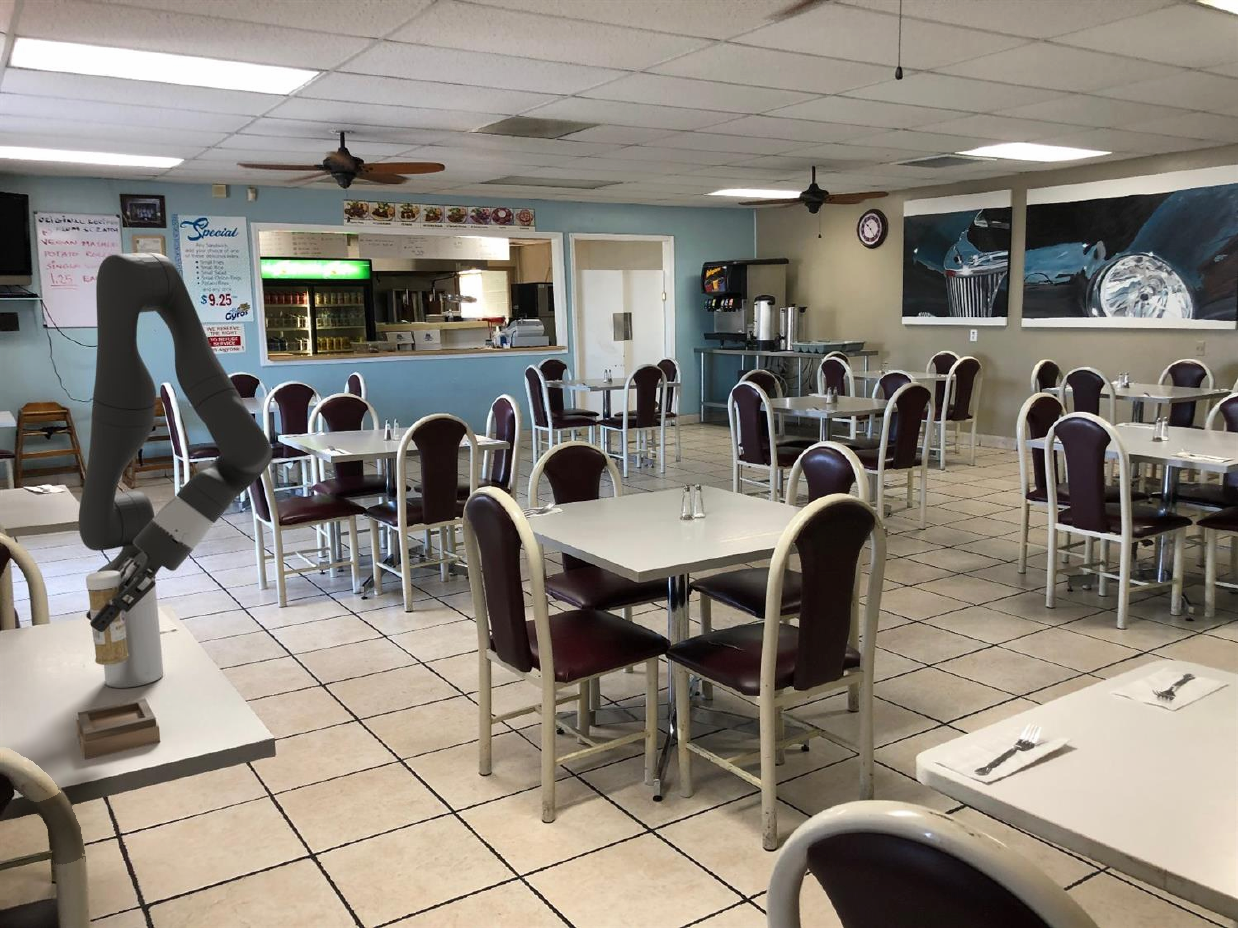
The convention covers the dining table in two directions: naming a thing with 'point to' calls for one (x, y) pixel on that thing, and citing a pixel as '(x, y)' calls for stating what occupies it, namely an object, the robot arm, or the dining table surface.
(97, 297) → the robot arm
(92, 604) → the sprinkles bottle
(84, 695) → the dining table surface
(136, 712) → the walnut plinth
